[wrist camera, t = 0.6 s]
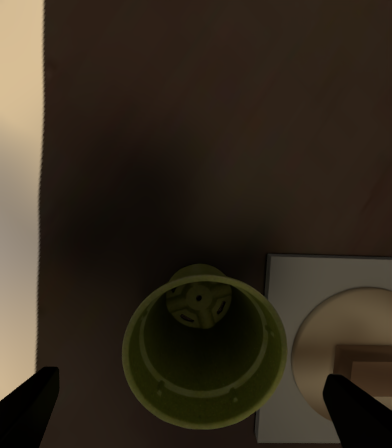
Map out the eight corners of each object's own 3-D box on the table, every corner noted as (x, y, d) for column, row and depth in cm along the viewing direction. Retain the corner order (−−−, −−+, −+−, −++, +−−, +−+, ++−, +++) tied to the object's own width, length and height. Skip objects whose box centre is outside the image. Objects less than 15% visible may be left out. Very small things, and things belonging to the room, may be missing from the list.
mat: (431, 433, 25) (441, 443, 24) (254, 432, 24) (257, 442, 23) (460, 259, 23) (472, 262, 22) (267, 253, 22) (271, 256, 21)
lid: (420, 419, 24) (453, 451, 21) (285, 419, 23) (300, 452, 20) (440, 288, 22) (479, 302, 19) (297, 285, 22) (314, 299, 19)
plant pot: (173, 226, 22) (164, 247, 13) (268, 270, 23) (317, 317, 14) (130, 318, 23) (95, 394, 14) (222, 358, 23) (242, 453, 15)
